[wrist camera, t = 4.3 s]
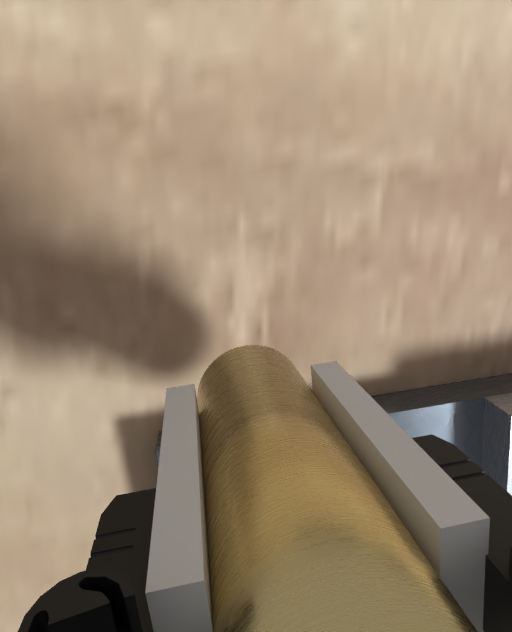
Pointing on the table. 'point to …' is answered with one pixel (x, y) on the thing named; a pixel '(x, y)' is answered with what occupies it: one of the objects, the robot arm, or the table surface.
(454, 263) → the table surface
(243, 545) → the pin
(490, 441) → the chain end grey
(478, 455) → the chain end dark
